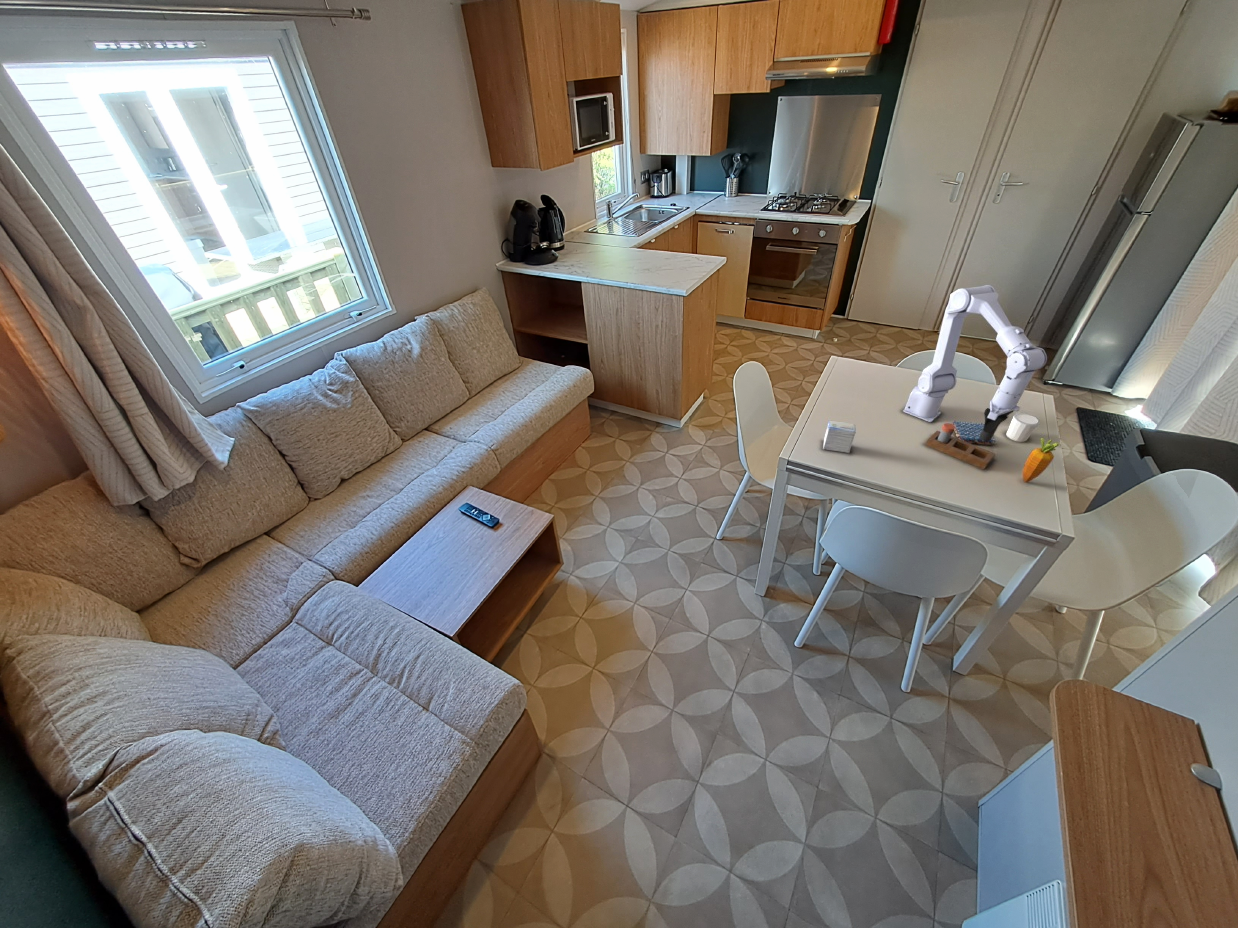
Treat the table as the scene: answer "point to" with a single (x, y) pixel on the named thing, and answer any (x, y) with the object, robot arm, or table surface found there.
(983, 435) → the cylinder
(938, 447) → the marker stand
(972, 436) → the woven mat
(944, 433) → the grey marker
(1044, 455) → the carrot
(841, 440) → the medicine box
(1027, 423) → the white cylinder
